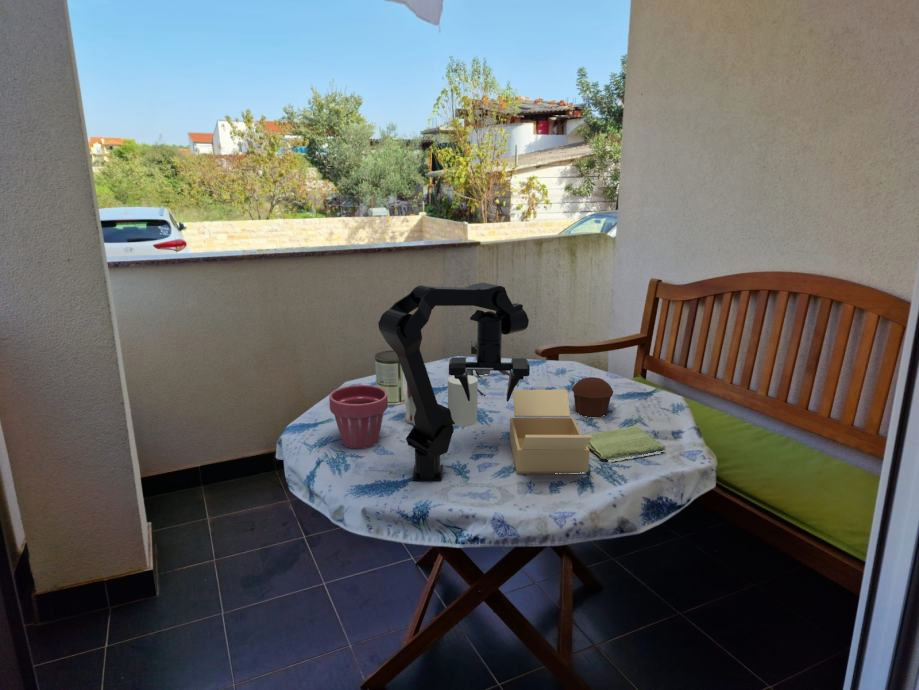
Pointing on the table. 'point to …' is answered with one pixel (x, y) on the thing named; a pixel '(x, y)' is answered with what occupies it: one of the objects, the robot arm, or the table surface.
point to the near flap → (556, 441)
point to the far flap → (541, 403)
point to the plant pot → (359, 414)
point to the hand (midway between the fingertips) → (488, 400)
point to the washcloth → (623, 443)
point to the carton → (546, 458)
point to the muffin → (592, 397)
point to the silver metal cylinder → (408, 402)
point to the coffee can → (389, 376)
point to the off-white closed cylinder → (463, 401)
